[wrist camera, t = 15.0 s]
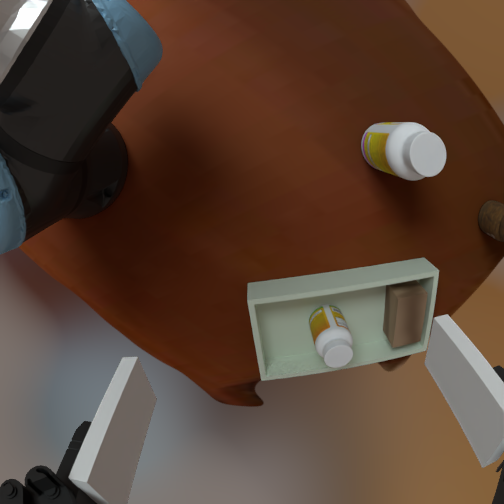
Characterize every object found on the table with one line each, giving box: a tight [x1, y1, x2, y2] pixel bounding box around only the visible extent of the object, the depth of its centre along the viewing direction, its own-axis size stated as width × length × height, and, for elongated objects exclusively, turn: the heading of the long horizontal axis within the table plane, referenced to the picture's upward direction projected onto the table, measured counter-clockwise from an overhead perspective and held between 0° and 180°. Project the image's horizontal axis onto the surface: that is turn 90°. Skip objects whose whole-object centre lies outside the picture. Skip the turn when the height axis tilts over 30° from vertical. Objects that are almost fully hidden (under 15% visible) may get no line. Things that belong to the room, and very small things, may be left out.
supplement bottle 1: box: [309, 304, 353, 368], centre depth 44 cm, size 5×5×10 cm
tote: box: [247, 258, 439, 381], centre depth 46 cm, size 28×15×5 cm, turn 98°
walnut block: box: [383, 280, 428, 348], centre depth 45 cm, size 5×9×5 cm, turn 8°
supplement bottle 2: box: [361, 122, 446, 180], centre depth 33 cm, size 7×7×13 cm
